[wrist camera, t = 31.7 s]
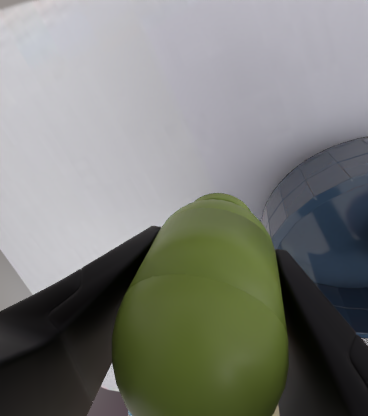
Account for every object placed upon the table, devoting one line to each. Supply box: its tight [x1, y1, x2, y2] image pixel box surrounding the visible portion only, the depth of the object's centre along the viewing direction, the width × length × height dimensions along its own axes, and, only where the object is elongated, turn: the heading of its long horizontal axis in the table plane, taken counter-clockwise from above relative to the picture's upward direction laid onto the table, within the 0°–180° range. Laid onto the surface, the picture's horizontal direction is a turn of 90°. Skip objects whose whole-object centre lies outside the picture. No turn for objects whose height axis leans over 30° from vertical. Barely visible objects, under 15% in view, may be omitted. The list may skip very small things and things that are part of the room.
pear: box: [112, 193, 289, 416], centre depth 7 cm, size 4×4×8 cm
